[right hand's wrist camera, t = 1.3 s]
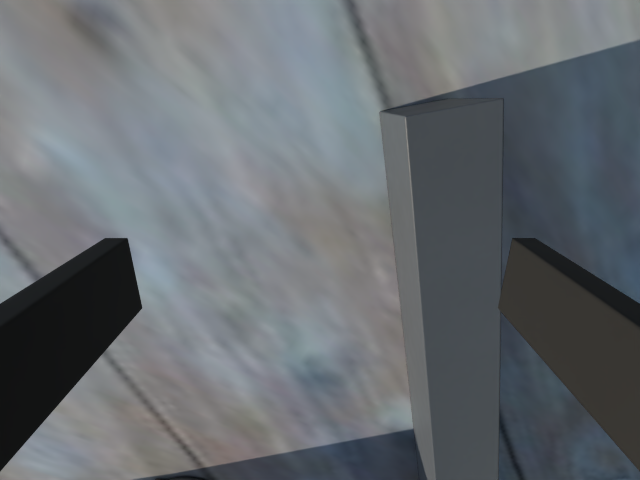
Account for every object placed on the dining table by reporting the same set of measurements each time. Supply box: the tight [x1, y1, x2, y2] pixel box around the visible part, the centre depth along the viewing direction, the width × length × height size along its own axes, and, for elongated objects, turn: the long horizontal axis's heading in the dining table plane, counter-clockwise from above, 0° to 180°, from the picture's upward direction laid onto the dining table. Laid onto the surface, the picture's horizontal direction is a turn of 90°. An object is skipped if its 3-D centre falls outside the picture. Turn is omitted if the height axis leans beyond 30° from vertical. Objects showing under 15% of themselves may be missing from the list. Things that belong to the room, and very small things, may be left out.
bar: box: [380, 98, 504, 480], centre depth 33 cm, size 61×5×8 cm, turn 10°
